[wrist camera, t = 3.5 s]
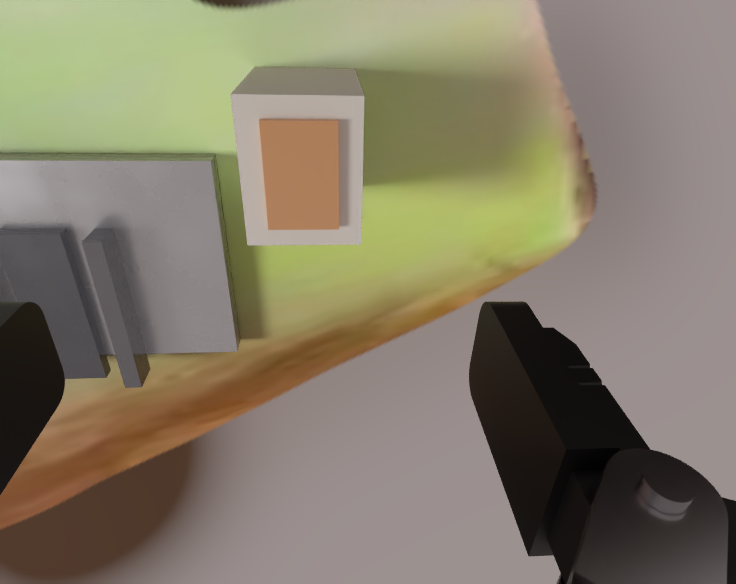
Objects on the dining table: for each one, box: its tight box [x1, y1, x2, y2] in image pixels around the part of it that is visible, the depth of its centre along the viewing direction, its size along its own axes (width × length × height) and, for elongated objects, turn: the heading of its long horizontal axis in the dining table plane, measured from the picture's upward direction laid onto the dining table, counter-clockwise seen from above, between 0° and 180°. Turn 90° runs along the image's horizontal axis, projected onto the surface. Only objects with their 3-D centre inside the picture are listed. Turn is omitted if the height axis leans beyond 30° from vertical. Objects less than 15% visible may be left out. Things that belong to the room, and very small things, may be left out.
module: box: [231, 67, 364, 245], centre depth 19 cm, size 5×4×6 cm
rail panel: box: [0, 153, 240, 388], centre depth 23 cm, size 11×14×2 cm
